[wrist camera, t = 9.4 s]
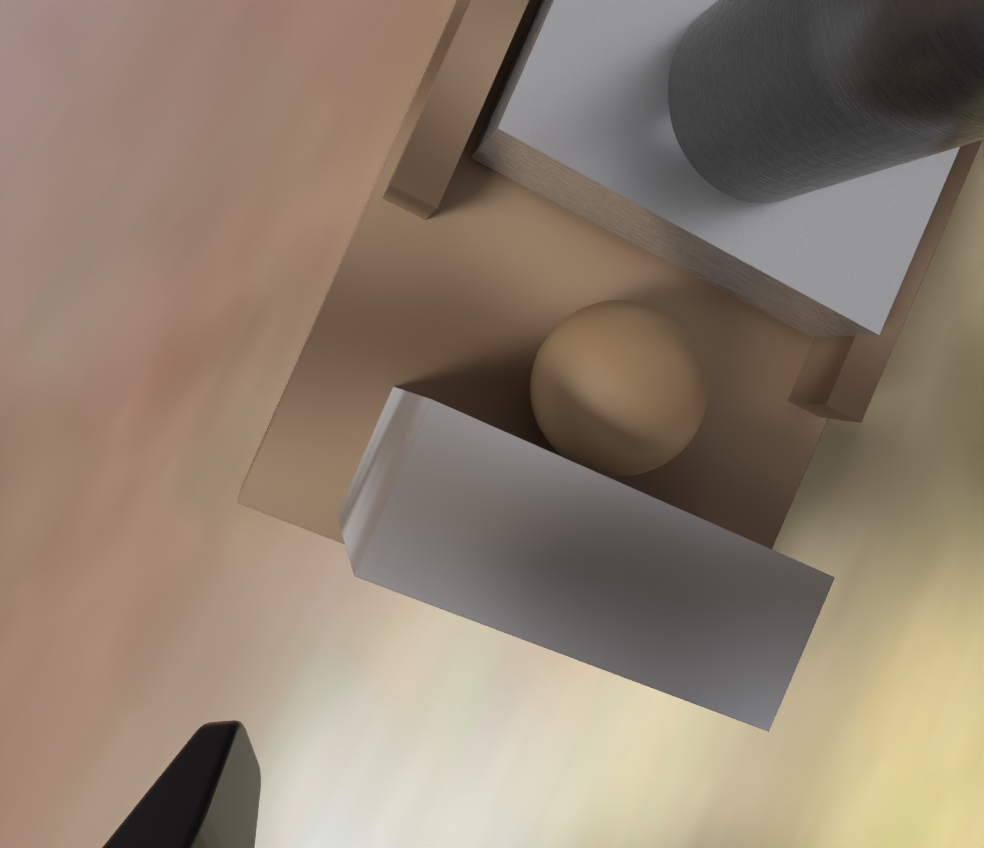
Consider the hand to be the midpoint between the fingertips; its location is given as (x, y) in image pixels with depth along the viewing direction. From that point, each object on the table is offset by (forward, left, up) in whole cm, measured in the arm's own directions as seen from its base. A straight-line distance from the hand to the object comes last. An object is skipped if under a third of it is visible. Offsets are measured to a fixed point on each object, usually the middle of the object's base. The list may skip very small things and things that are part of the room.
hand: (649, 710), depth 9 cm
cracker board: (+6, -7, -12) cm, 15 cm away
